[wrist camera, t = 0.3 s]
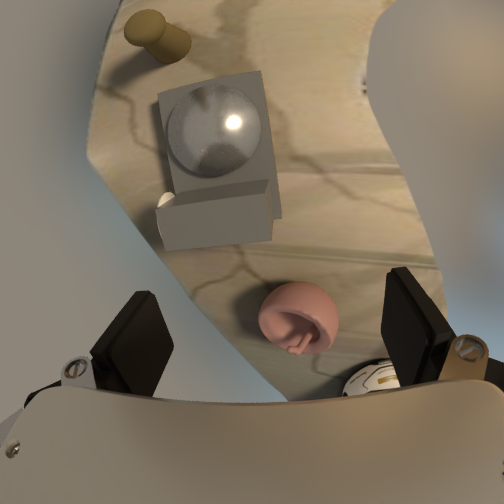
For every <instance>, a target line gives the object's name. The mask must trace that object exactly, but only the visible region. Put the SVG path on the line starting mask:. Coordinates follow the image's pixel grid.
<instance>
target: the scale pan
mask: <svg viewBox="0 0 504 504" xmlns="http://www.w3.org/2000/svg"><path fill="white" fill-rule="evenodd" d="M260 135H261V122H260V118H259V115H258V112H257V110H256V108H255V106H254V105H253V103H252V102H251V101H250V100H249V99H248V98H247V97H246V96H245V95H244V94H243V93H241V92H240V91H238V90H236V89H234V88H231V87H228V86H224V85H208V86H203V87H200V88H197V89H195V90H193V91H191V92H190V93H188V94H187V95H185V96H184V97H183V98H182V99H181V100H180V101H179V102H178V104H177V105H176V106H175V108H174V110H173V112H172V114H171V116H170V120H169V124H168V140H169V144H170V147H171V150H172V152H173V154H174V155H175V157H176V158H177V159H178V161H179V162H180V163H181V164H182V165H183V166H185V167H186V168H187V169H189V170H191V171H193V172H195V173H198V174H201V175H206V176H219V175H224V174H228V173H230V172H233V171H235V170H237V169H238V168H240V167H241V166H242V165H244V164H245V163H246V162H247V161H248V160H249V159H250V158H251V157H252V155H253V154H254V152H255V150H256V148H257V146H258V143H259V140H260Z"/></svg>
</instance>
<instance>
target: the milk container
mask: <svg viewBox="0 0 504 504" xmlns="http://www.w3.org/2000/svg"><path fill="white" fill-rule="evenodd" d="M395 388H400V385H399V382H398V379H397V376H396V373H395V370H394V367H393V365H392V362H391V359H387V360H382V361H378V362H374V363H372V364H370V365H368V366H365V367H363V368H362V369H360V370H359V371H357V372H356V373H355V374H354V375H352V376H351V378H350V379H349V380H348V381H347V383H346V385H345V387H344V389H343V395H342V397H345V396H352V395H359V394H366V393H372V392H378V391H384V390H390V389H395Z"/></svg>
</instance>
